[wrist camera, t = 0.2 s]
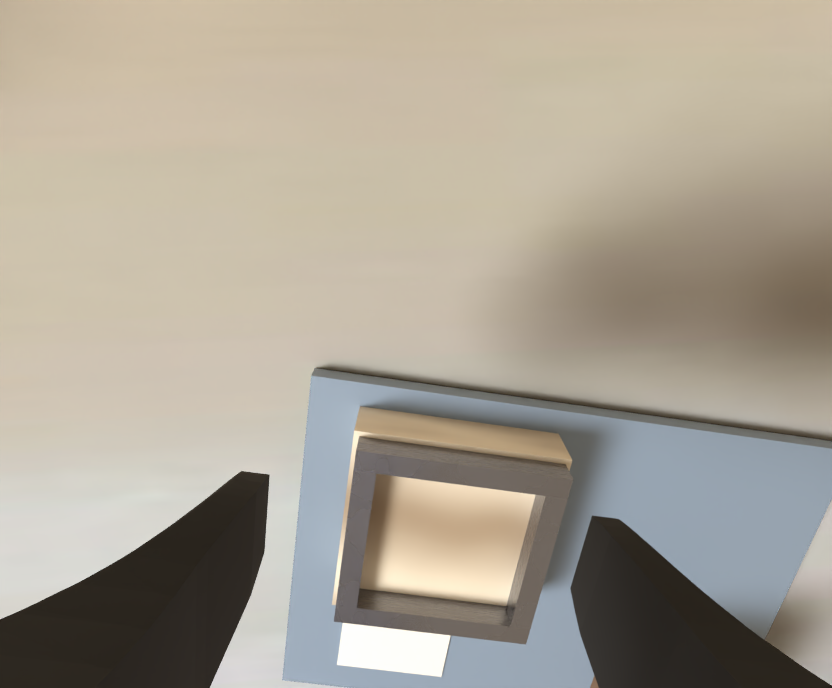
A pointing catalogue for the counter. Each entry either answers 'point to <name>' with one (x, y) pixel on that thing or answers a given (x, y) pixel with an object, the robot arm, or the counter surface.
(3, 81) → the counter surface
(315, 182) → the counter surface
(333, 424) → the board
